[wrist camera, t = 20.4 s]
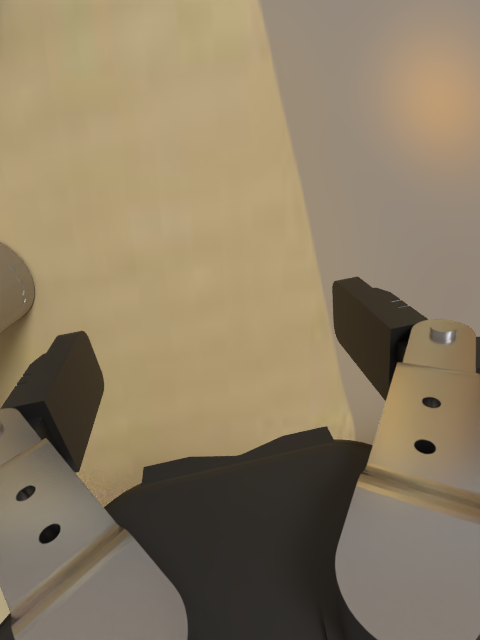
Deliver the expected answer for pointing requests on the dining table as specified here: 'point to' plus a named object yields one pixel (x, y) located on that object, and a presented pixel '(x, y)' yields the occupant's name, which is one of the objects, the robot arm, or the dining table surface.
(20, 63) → the dining table surface
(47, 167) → the dining table surface
